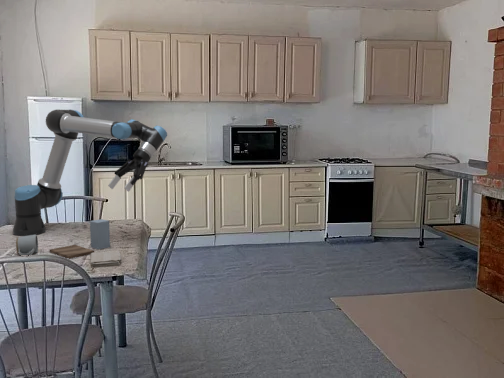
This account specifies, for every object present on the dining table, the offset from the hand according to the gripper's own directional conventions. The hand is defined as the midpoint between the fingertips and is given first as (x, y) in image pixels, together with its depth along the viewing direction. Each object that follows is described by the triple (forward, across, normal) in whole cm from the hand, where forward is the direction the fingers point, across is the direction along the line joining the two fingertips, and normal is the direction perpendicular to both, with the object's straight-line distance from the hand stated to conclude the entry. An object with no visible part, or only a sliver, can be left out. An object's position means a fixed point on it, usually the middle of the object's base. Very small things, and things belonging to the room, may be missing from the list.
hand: (118, 188), depth 239 cm
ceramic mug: (+45, +12, +9) cm, 47 cm away
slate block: (+25, 0, -11) cm, 28 cm away
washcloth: (+33, -22, -4) cm, 40 cm away
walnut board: (+35, 0, 0) cm, 35 cm away
